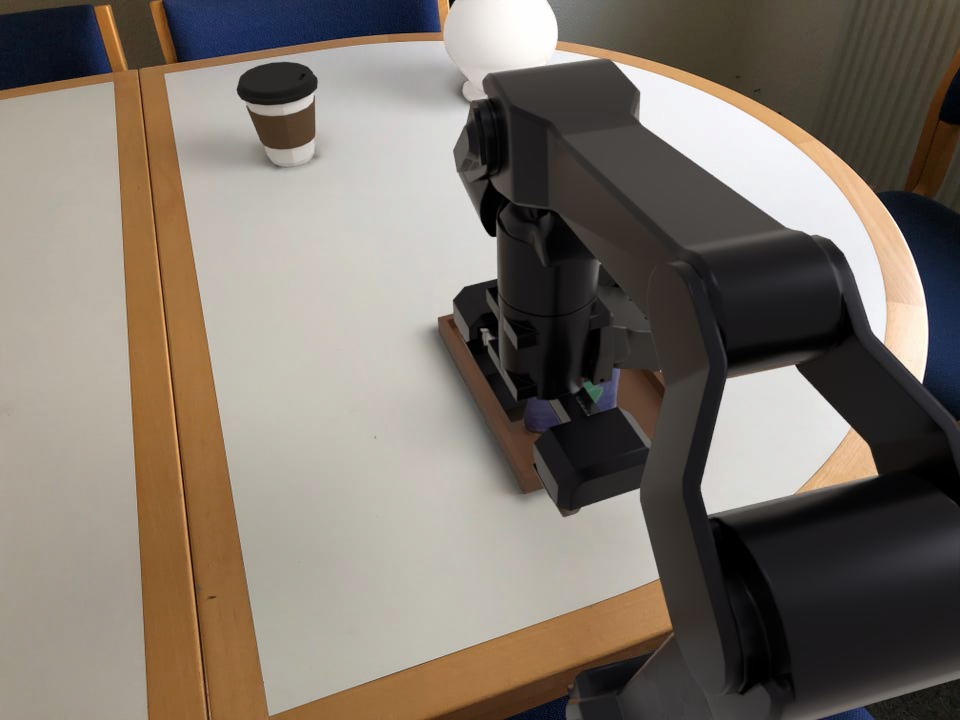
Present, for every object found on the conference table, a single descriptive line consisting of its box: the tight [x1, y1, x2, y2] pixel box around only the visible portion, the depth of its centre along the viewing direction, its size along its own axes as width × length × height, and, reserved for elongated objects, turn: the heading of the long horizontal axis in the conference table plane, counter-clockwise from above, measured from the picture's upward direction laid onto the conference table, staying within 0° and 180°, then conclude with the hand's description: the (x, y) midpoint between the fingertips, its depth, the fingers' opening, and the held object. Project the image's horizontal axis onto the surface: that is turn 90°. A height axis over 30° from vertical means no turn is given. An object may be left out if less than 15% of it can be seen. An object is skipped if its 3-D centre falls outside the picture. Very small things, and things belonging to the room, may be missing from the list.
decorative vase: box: [442, 0, 559, 103], centre depth 121 cm, size 18×18×25 cm
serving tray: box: [437, 313, 665, 495], centre depth 79 cm, size 24×18×2 cm
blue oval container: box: [523, 368, 620, 435], centre depth 72 cm, size 9×3×11 cm, turn 107°
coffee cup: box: [236, 61, 319, 168], centre depth 111 cm, size 11×11×12 cm
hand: (541, 464), depth 56 cm, fingers open, 9 cm apart
